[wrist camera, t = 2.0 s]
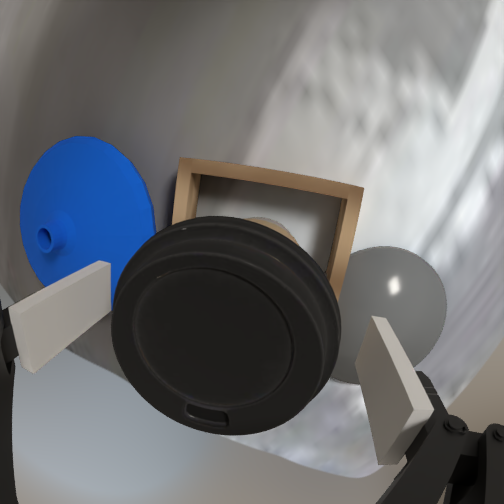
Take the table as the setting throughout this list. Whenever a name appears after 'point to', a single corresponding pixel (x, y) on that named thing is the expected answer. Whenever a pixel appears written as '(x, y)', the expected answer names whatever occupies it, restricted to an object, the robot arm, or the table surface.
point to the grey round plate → (389, 304)
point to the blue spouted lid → (84, 210)
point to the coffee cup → (225, 324)
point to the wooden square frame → (349, 193)
